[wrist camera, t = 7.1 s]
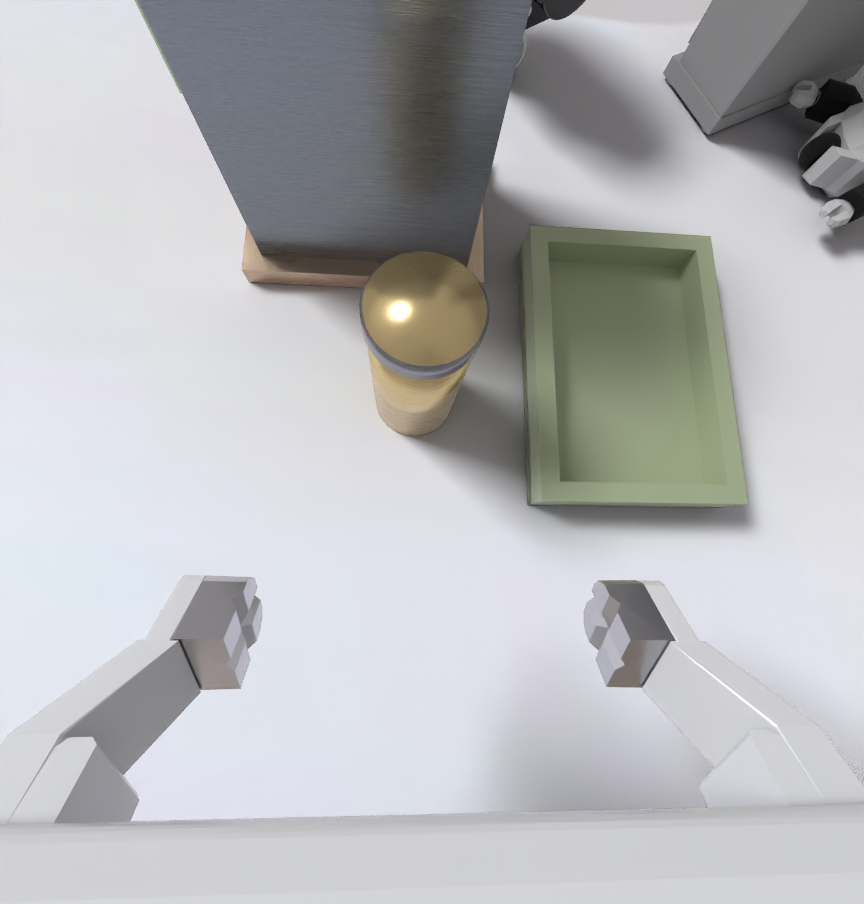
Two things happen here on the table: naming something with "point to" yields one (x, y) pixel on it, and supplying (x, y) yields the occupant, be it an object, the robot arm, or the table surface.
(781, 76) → the upright grey panel
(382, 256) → the mounted unit
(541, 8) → the pneumatic valve
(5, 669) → the table surface
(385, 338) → the cartridge
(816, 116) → the robot toy
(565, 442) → the olive tray
